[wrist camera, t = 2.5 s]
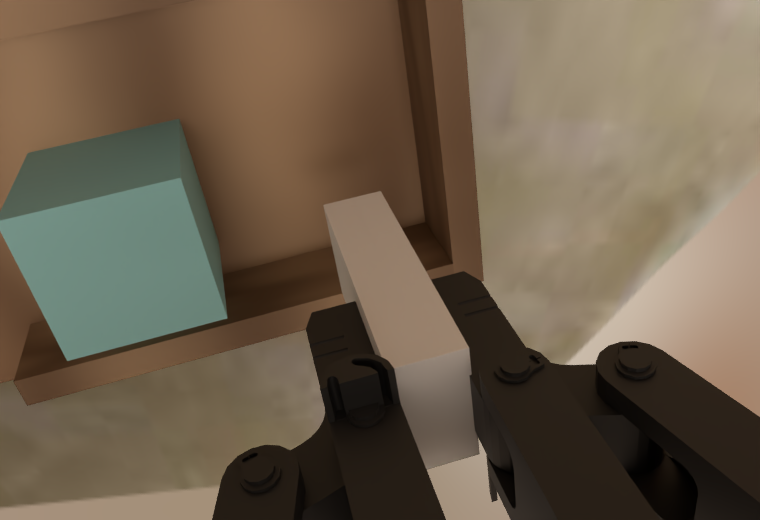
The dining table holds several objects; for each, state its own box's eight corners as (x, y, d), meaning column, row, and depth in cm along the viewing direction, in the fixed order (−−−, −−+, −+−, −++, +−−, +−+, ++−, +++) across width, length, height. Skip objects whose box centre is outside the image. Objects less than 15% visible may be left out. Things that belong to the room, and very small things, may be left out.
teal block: (84, 276, 23) (67, 360, 19) (27, 152, 21) (-5, 222, 17) (218, 242, 24) (227, 318, 20) (179, 118, 21) (180, 177, 17)
